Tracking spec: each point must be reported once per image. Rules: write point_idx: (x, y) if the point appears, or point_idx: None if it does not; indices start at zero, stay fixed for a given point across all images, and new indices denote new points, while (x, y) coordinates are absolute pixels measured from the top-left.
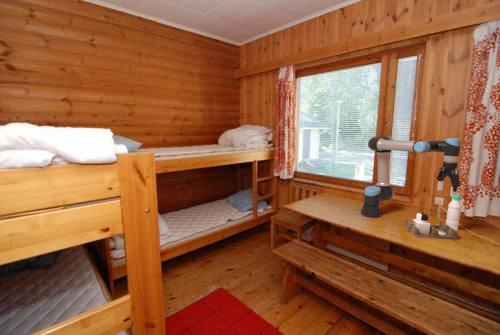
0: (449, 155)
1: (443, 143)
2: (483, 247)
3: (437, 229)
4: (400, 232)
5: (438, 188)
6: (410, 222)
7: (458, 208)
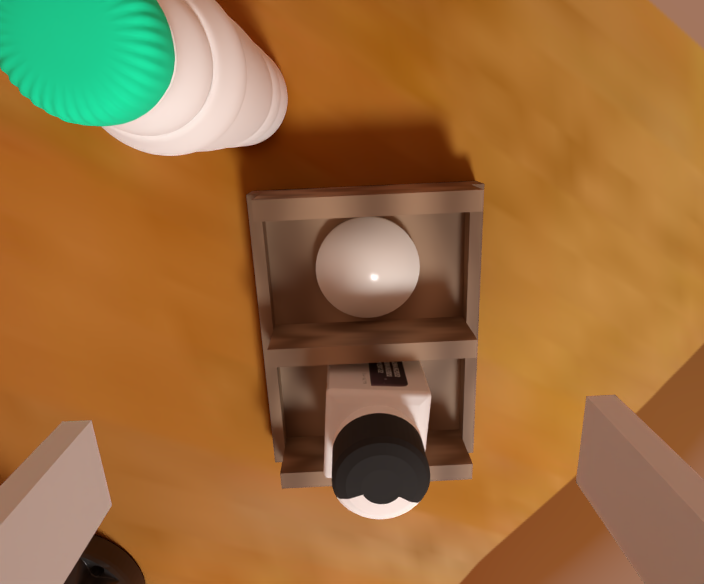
0: None
1: None
2: (569, 39)
3: (325, 256)
4: None
5: (83, 541)
6: None
7: (245, 61)
